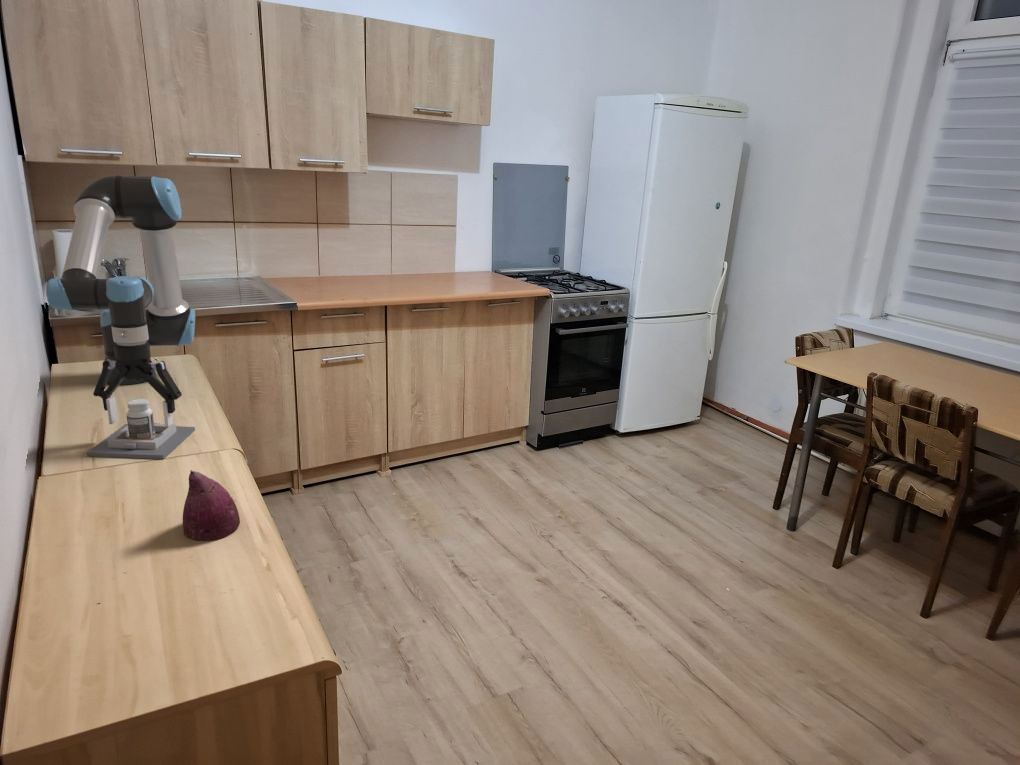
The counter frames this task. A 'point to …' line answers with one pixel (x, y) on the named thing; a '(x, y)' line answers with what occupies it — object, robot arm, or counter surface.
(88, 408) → the counter surface
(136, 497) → the counter surface
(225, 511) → the vegetable
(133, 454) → the socket
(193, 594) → the counter surface
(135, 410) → the pill bottle
